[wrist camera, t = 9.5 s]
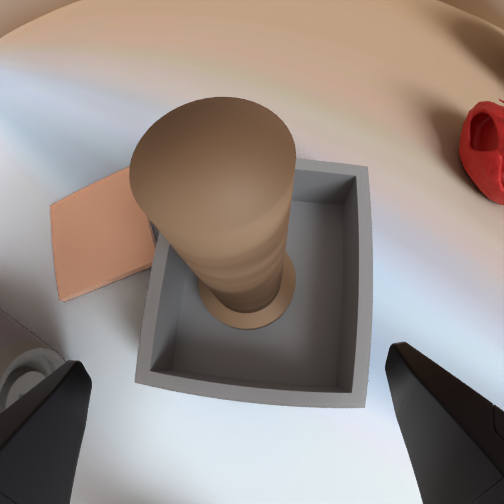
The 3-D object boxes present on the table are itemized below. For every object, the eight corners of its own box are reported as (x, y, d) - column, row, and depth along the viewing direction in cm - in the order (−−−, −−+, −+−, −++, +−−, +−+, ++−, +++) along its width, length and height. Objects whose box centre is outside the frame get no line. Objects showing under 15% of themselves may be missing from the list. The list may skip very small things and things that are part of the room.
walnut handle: (273, 344, 19) (278, 320, 6) (187, 307, 20) (61, 220, 7) (307, 259, 20) (357, 109, 8) (225, 227, 22) (172, 67, 9)
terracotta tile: (161, 263, 22) (158, 259, 21) (65, 301, 21) (59, 299, 21) (138, 169, 25) (135, 163, 24) (54, 209, 24) (50, 205, 24)
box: (342, 396, 18) (364, 407, 14) (164, 377, 19) (134, 382, 15) (350, 203, 23) (367, 166, 18) (194, 191, 24) (178, 153, 19)
